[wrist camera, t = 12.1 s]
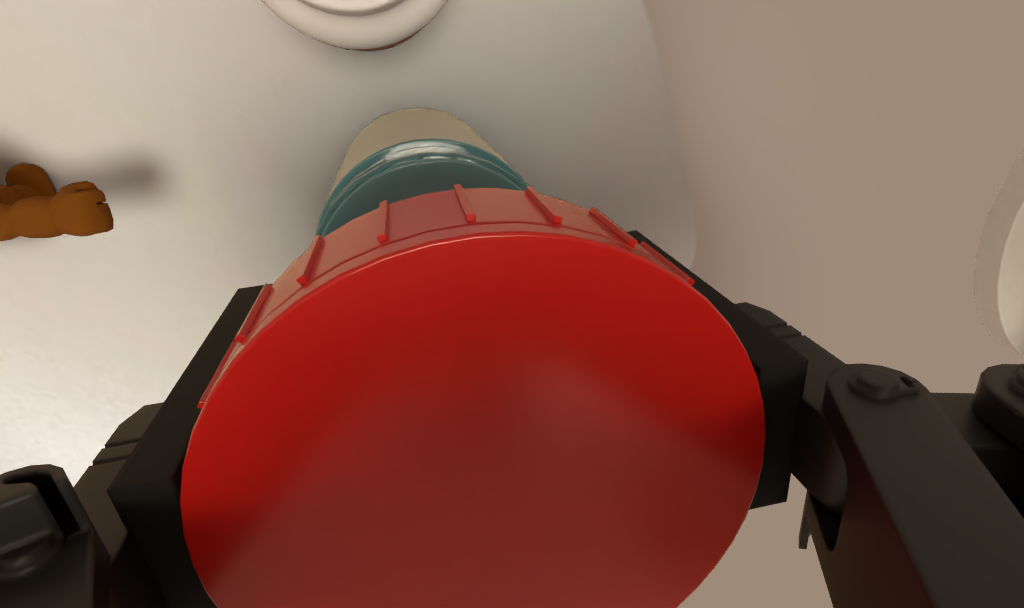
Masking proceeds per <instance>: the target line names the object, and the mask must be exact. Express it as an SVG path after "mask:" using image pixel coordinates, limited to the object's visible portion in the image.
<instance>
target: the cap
mask: <svg viewBox="0 0 1024 608" xmlns="http://www.w3.org/2000/svg"><path fill="white" fill-rule="evenodd" d="M637 242H638V241H637V240H636V239H634V238H633V237H632V236H631V235H629V234H628V233H627V232H626V231H624V230H623V229H622V228H620V227H619V226H618V225H617V224H615V223H614V222H613V221H612V220H610V219H609V218H608V217H607V216H605V215H604V214H603V213H601V212H600V211H599V210H598V209H596V208H594V207H591V209H590V211H589V210H586V209H584V208H581V207H578V206H576V205H573V204H571V203H568V202H566V201H563V200H561V199H557V198H553V197H549V196H545V195H541V194H539V193H538V192H537V191H536V190H535V189H534V188H532V187H526V191H520V190H510V189H501V188H465V189H463V188H462V186H461V184H455V185H454V189H452V190H446V191H440V192H433V193H427V194H421V195H418V196H414V197H411V198H407V199H404V200H401V201H397V202H394V203H391V204H388V202H387V200H385V201H382V202H380V205H379V208H378V209H375V210H373V211H371V212H369V213H366V214H364V215H362V216H360V217H357V218H355V219H353V220H351V221H349V222H348V223H346V224H345V225H343V226H341V227H340V228H338V229H336V230H335V231H333V232H332V233H330V234H328V235H327V236H325V237H323V238H322V237H321V235H318V236H316V237H315V238H314V239H313V241H312V244H311V246H310V248H309V249H308V250H307V251H306V252H305V253H303V254H302V255H301V256H300V257H299V258H297V259H296V260H295V261H294V262H293V263H292V264H291V265H290V266H289V267H288V268H287V269H286V270H285V271H284V273H283V274H282V275H281V276H280V277H279V278H278V279H277V280H276V281H275V282H274V284H273V285H272V286H270V285H269V284H267V283H266V284H265V286H264V287H263V288H262V290H261V292H260V294H259V295H258V297H257V299H256V301H255V303H254V304H253V306H252V308H251V310H250V312H249V313H248V315H247V317H246V319H245V321H244V322H243V324H242V326H241V328H240V330H239V331H238V333H237V335H236V337H235V339H234V340H236V341H237V342H236V341H232V343H231V345H230V347H229V349H228V350H227V352H226V354H225V356H224V358H223V359H222V361H221V363H220V365H219V367H218V368H217V370H216V372H215V374H214V376H213V377H212V379H211V381H210V383H209V385H208V386H207V388H206V390H205V392H204V394H203V395H202V397H201V399H200V401H199V403H198V406H197V408H200V409H202V410H201V412H200V415H199V417H198V419H197V421H196V423H195V425H194V428H193V430H192V433H191V437H190V440H189V444H188V448H187V452H186V455H185V459H184V463H183V468H182V480H181V493H180V506H181V516H182V525H183V534H184V538H185V541H186V545H187V548H188V551H189V555H190V558H191V561H192V565H193V567H194V569H195V571H196V573H197V575H198V577H199V579H200V581H201V583H202V585H203V587H204V589H205V591H206V593H207V594H208V596H209V597H210V598H211V600H212V601H213V602H214V604H215V605H216V606H217V608H677V607H678V606H679V605H680V604H681V603H682V602H683V601H684V600H685V599H686V598H687V597H688V596H689V595H690V594H691V593H692V592H693V591H694V590H695V589H696V588H697V587H698V586H699V585H700V584H701V583H702V582H703V580H704V579H705V578H706V577H707V576H708V574H709V573H710V572H711V571H712V570H713V569H714V568H715V566H716V565H717V564H718V562H719V561H720V559H721V558H722V557H723V555H724V554H725V552H726V551H727V549H728V548H729V546H730V545H731V543H732V542H733V540H734V538H735V536H736V535H737V533H738V531H739V529H740V527H741V525H742V523H743V521H744V520H745V518H746V515H747V513H748V511H749V508H750V505H751V503H752V500H753V498H754V495H755V493H756V490H757V486H758V481H759V477H760V473H761V469H762V465H763V457H764V447H765V437H766V433H765V416H764V405H763V400H762V396H761V391H760V387H759V383H758V378H757V375H756V373H755V371H754V368H753V366H752V363H751V361H750V358H749V356H748V354H747V351H746V349H745V347H744V346H743V344H742V343H741V341H740V339H739V338H738V336H737V335H736V333H735V331H734V330H733V328H732V327H731V325H730V323H729V322H728V321H727V320H726V319H725V318H724V317H723V316H722V314H721V313H720V312H719V311H718V310H717V309H716V308H715V307H714V306H713V304H712V303H711V302H710V301H709V300H708V299H707V298H706V297H705V296H703V295H702V294H701V293H700V292H698V291H697V290H696V289H695V288H693V287H692V285H693V284H694V283H695V281H694V280H693V279H692V278H691V277H690V276H689V275H687V274H686V273H685V272H683V271H682V270H681V269H679V268H678V267H677V266H676V265H674V264H673V263H672V262H670V261H669V260H668V259H666V258H665V257H664V256H663V255H661V254H660V253H659V252H657V251H656V250H655V249H653V248H652V247H651V246H650V245H648V244H647V243H646V242H644V241H643V242H642V243H641V244H640V245H639V244H638V243H637Z"/></svg>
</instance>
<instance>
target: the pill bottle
mask: <svg viewBox="0 0 1024 608" xmlns="http://www.w3.org/2000/svg"><path fill="white" fill-rule="evenodd" d="M262 1H263V2H264V3H265V4H266V5H267V6H268V7H269V8H270V9H271V10H272V11H273V12H274V13H275V14H276V15H278V16H279V17H280V18H281V19H283V20H284V21H285V22H286V23H288V24H289V25H291V26H292V27H294V28H295V29H297V30H299V31H300V32H302V33H304V34H306V35H308V36H310V37H312V38H314V39H316V40H318V41H321V42H323V43H326V44H329V45H332V46H336V47H340V48H343V49H347V50H349V49H352V50H360V51H377V50H383V49H387V48H391V47H394V46H396V45H398V44H401V43H403V42H404V41H406V40H408V39H409V38H411V37H412V36H414V35H415V34H416V33H417V32H418V31H420V30H421V29H422V28H423V27H424V26H426V25H427V24H428V23H429V22H430V21H431V20H432V19H433V18H434V17H435V16H436V15H437V14H438V12H439V11H440V10H441V9H442V7H443V6H444V5H445V3H446V2H447V0H262Z"/></svg>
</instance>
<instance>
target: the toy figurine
mask: <svg viewBox="0 0 1024 608" xmlns="http://www.w3.org/2000/svg"><path fill="white" fill-rule="evenodd" d="M6 183H7V186H3V185H0V241H4V240H10V239H13V238H16V237H18V236H24V237H29V238H49V237H56V236H60V235H62V234H69V235H74V236H89V235H93V234H97V233H102V232H108V231H110V230H112V229H113V217H112V214H111V211H110V208H109V206H108V204H107V203H103V202H105V201H106V198H105V195H104V193H103V192H102V191H101V190H99V189H98V188H97V187H96V186H95V185H94V184H93V183H91V182H88V181H84V182H77V183H72V184H69V185H67V186H64V187H62V188H61V189H60V191H59V192H58V193H57V194H56V192H55V190H54V187H53V186H52V184H51V182H50V180H49V178H48V176H47V175H46V173H45V172H44V171H43V170H42V169H41V168H39V167H37V166H35V165H31V164H19V165H16V166H13V167H11V168H10V170H9V171H8V172H7V173H6Z"/></svg>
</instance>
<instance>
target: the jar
mask: <svg viewBox="0 0 1024 608" xmlns="http://www.w3.org/2000/svg"><path fill="white" fill-rule="evenodd" d="M455 184H461V186H462V188H463V189H465V188H501V189H510V190H520V191H526V187H529V186H528V185H527V184H526V182H525V181H524V180H523V179H522V178H521V176H520V175H519V174H518V173H517V172H516V171H515V170H514V169H513V168H512V167H511V166H510V165H509V164H508V163H507V162H506V161H505V160H504V159H503V158H502V157H501V156H500V155H499V154H498V153H497V152H496V151H495V150H494V149H493V148H492V147H491V146H490V145H489V144H488V143H486V142H485V141H484V140H483V139H482V138H481V137H480V136H479V135H478V134H477V133H476V132H475V131H474V130H473V129H472V128H471V127H470V126H469V125H467V124H466V123H464V122H463V121H461V120H460V119H458V118H456V117H454V116H452V115H450V114H447V113H444V112H442V111H438V110H433V109H428V108H407V109H402V110H397V111H394V112H391V113H388V114H385V115H383V116H381V117H380V118H378V119H376V120H374V121H373V122H372V123H370V124H369V125H367V126H366V127H365V128H364V129H363V130H362V131H361V132H360V133H359V134H358V135H357V137H356V138H355V139H354V140H353V142H352V143H351V145H350V147H349V148H348V150H347V152H346V155H345V157H344V159H343V162H342V164H341V167H340V169H339V172H338V174H337V176H336V179H335V181H334V184H333V186H332V188H331V191H330V193H329V196H328V198H327V201H326V203H325V205H324V208H323V210H322V213H321V215H320V218H319V222H318V226H317V230H316V236H318V235H321V237H322V238H323V237H325V236H327V235H328V234H330V233H332V232H333V231H335V230H336V229H338V228H340V227H341V226H343V225H345V224H346V223H348V222H349V221H351V220H353V219H355V218H357V217H360V216H362V215H364V214H366V213H369V212H371V211H373V210H375V209H378V208H379V205H380V202H382V201H385V200H387V202H388V204H391V203H394V202H397V201H401V200H404V199H407V198H411V197H414V196H418V195H421V194H427V193H433V192H440V191H446V190H452V189H454V185H455ZM316 236H315V237H316Z"/></svg>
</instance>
